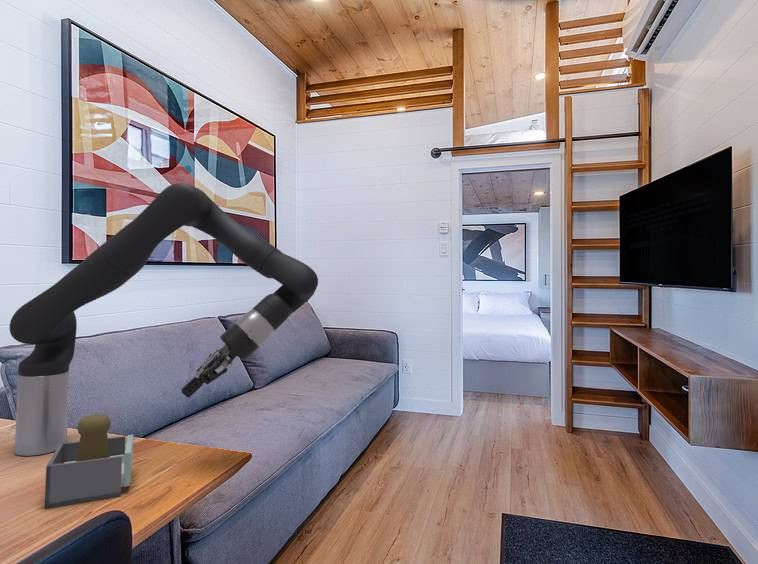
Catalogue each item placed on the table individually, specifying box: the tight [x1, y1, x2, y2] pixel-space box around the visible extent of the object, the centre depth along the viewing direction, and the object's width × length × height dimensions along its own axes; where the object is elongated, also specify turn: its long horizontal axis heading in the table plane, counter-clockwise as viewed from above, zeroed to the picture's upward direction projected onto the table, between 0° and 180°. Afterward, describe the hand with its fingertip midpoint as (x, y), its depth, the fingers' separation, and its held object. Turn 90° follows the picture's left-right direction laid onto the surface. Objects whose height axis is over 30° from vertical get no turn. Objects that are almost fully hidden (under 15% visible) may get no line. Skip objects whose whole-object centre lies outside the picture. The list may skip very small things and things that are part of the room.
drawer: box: [64, 434, 134, 488], centre depth 81 cm, size 11×11×6 cm
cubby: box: [44, 435, 126, 510], centre depth 80 cm, size 11×12×7 cm
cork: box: [76, 413, 112, 462], centre depth 81 cm, size 6×6×11 cm
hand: (184, 394), depth 89 cm, fingers closed
